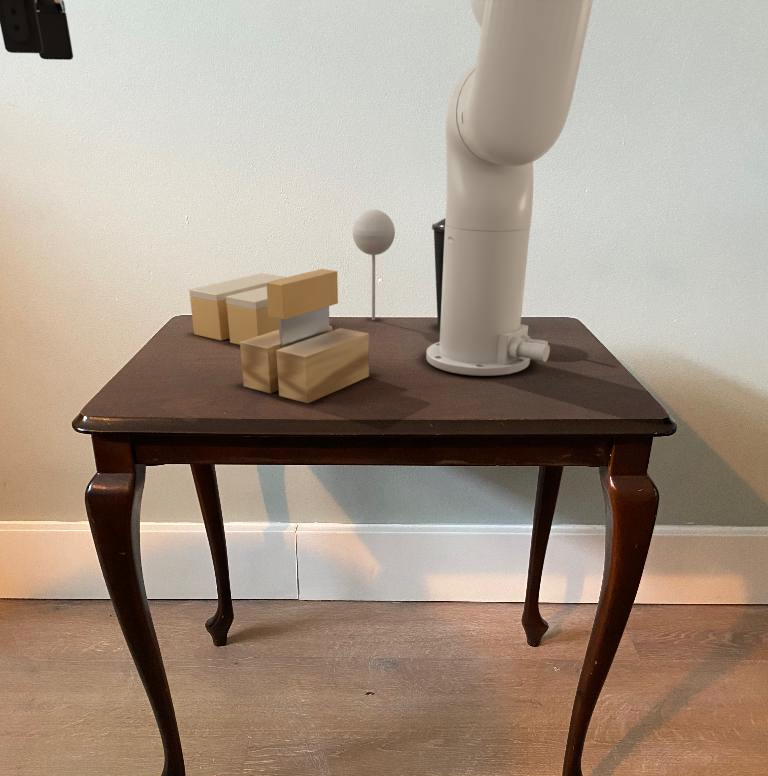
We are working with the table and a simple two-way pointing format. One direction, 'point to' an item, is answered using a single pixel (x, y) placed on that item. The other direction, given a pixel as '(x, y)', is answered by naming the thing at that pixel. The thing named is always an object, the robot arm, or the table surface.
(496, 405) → the table surface
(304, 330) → the knife
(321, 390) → the split wooden block
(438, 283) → the drinking cup
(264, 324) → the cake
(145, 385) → the table surface
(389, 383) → the table surface
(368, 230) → the lollipop
